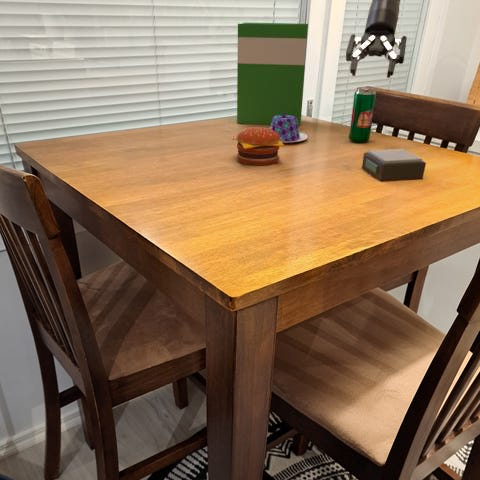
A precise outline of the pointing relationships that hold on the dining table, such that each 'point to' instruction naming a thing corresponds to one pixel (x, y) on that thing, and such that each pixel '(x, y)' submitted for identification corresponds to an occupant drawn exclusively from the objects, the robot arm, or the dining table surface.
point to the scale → (393, 165)
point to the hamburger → (258, 146)
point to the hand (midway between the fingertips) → (371, 74)
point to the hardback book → (270, 71)
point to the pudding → (287, 128)
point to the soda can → (362, 114)
